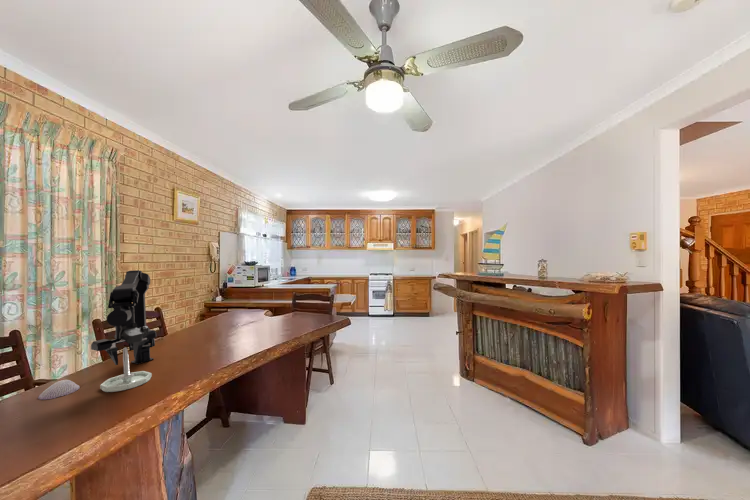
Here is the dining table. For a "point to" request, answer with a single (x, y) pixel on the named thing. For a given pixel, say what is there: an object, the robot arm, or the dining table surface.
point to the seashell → (59, 389)
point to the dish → (118, 385)
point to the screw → (126, 368)
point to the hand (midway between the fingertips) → (126, 362)
